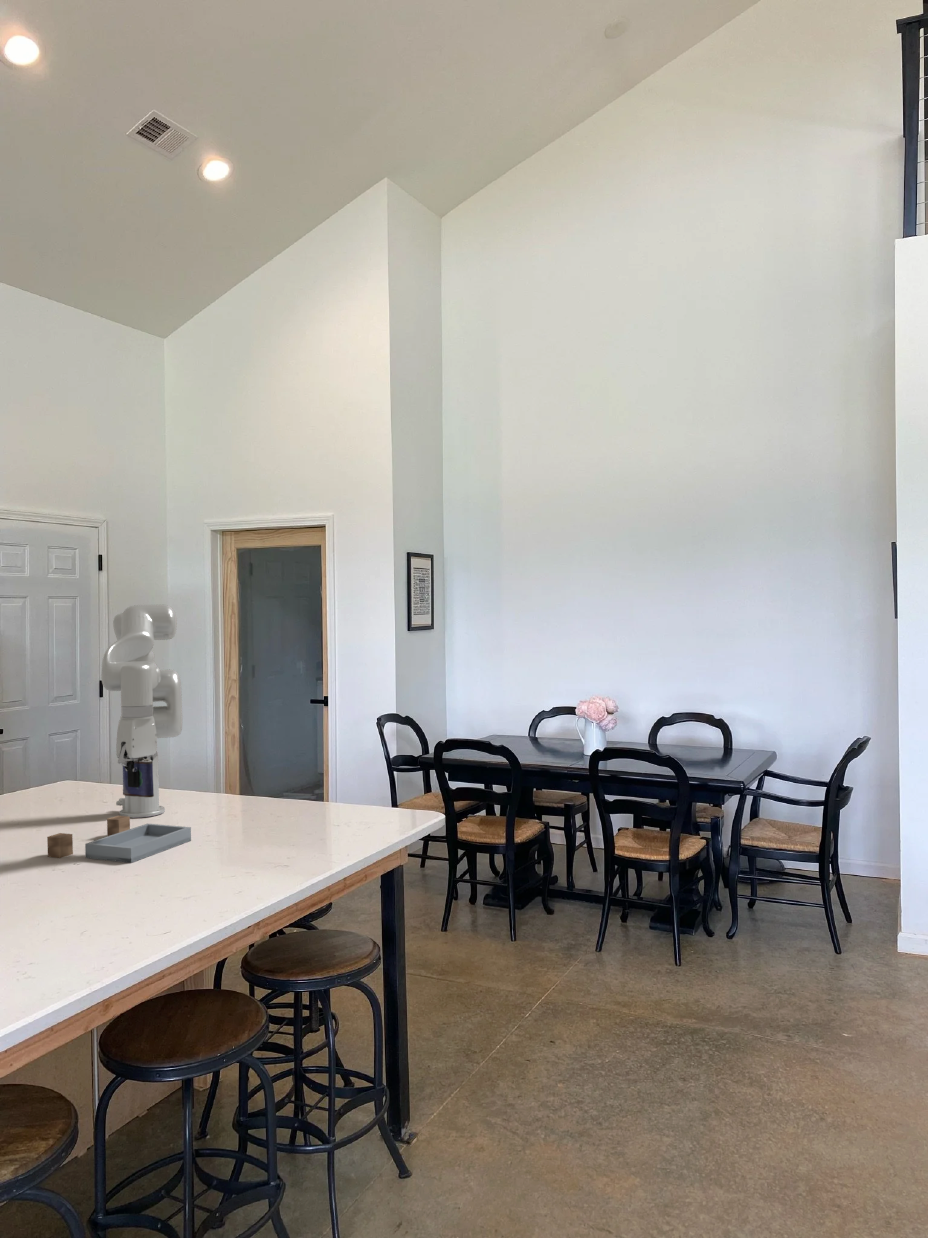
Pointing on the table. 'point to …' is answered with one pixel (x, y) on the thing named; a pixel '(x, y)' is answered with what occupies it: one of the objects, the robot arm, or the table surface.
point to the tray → (137, 843)
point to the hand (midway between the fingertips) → (138, 785)
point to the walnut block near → (60, 845)
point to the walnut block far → (117, 824)
